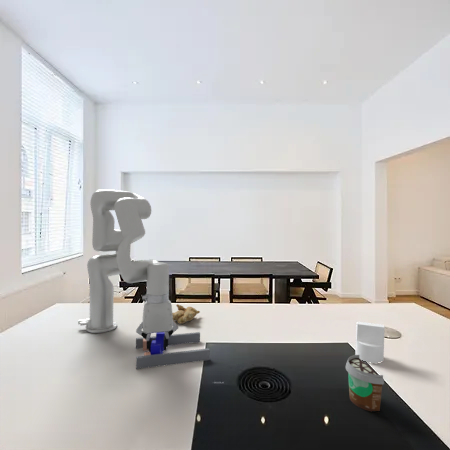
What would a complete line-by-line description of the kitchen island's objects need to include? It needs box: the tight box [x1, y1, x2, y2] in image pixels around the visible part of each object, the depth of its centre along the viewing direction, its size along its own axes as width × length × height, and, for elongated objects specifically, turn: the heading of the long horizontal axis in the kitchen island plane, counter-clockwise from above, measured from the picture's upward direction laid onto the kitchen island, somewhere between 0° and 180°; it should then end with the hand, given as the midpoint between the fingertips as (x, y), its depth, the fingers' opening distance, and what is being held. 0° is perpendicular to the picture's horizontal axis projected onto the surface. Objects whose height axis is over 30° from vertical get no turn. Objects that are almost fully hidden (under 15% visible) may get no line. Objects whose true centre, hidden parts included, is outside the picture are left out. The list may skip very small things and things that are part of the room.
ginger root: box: [172, 303, 201, 325], centre depth 141 cm, size 16×16×8 cm
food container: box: [345, 354, 385, 412], centre depth 81 cm, size 12×6×10 cm, turn 5°
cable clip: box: [150, 332, 165, 355], centre depth 105 cm, size 12×4×6 cm, turn 4°
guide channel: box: [135, 331, 211, 370], centre depth 107 cm, size 24×16×4 cm
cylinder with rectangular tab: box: [354, 321, 385, 363], centre depth 106 cm, size 9×9×12 cm
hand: (157, 349), depth 105 cm, fingers open, 4 cm apart
